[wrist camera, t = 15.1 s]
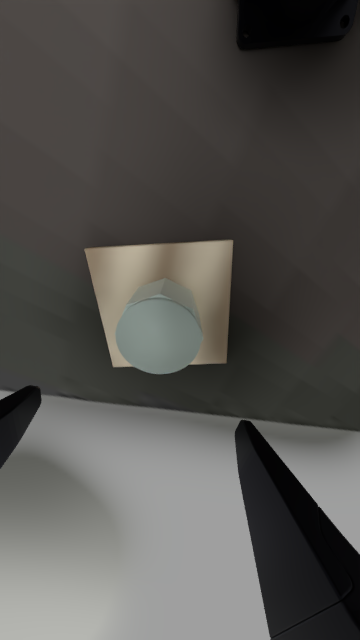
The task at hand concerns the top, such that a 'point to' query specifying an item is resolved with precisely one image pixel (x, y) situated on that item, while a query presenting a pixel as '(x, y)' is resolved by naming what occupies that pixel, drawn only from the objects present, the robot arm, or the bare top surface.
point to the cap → (160, 328)
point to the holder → (176, 265)
